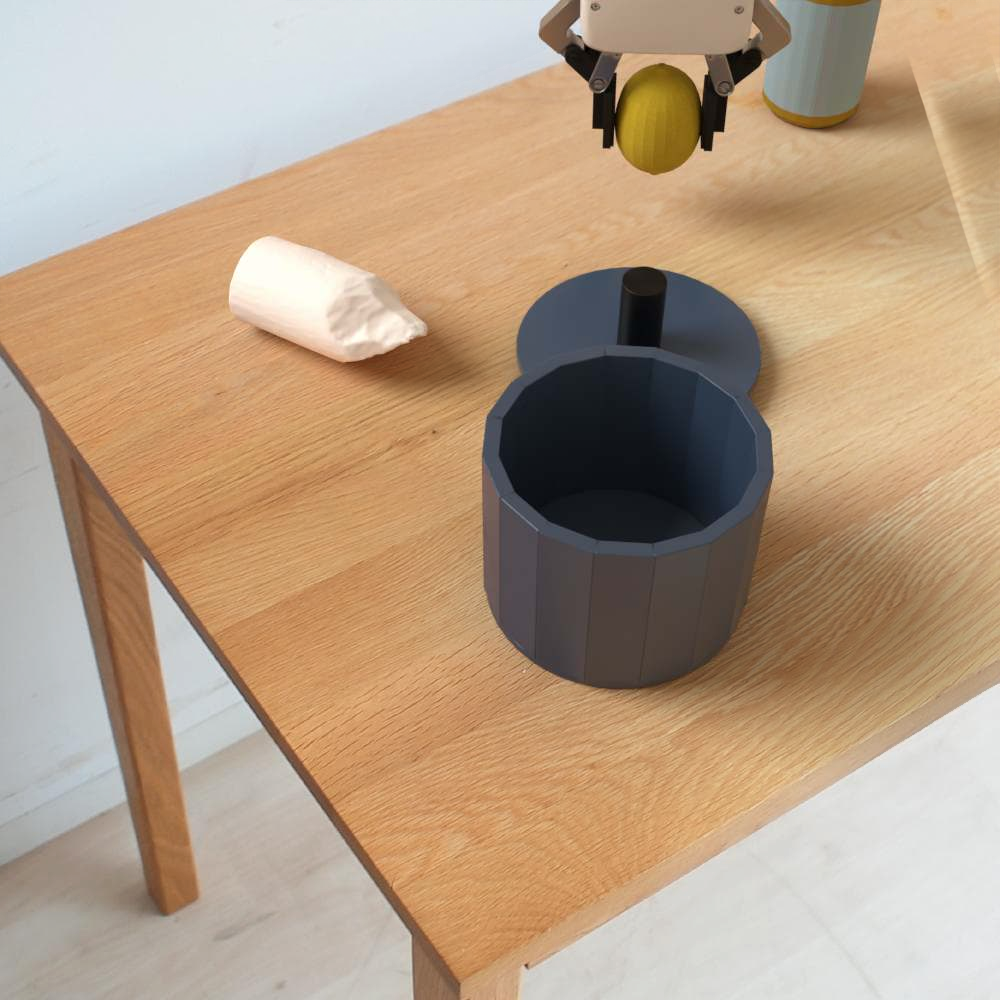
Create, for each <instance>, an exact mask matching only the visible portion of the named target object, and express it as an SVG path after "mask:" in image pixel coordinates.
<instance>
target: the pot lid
mask: <svg viewBox="0 0 1000 1000" xmlns="http://www.w3.org/2000/svg"><path fill="white" fill-rule="evenodd" d="M516 335H517V336H516V341H515V342H516V343H515V344H516V346H515V347H516V348H515V349H516V351H515V353H516V354H515V356H516V362H517V367H518V370H519V373H520V376H521V375H523V374H524V373H526V372H528V371H529V370H531V369H533V368H534V367H536V366H538V365H539V364H541V363H543V362H544V361H546V360H548V359H549V358H551V357H554V356H556V355H561V354H565V353H570V352H574V351H578V350H583V349H587V348H592V347H596V346H601V345H621V346H640V347H657V348H659V349H662V350H665V351H668V352H671V353H674V354H677V355H680V356H683V357H686V358H689V359H692V360H695V361H698V362H701V363H704V364H706V365H709V366H710V367H712V368H713V369H714V370H716V371H717V372H719V373H720V374H721V375H723V376H724V377H726V378H727V379H728V380H730V381H731V382H732V383H734V384H735V385H737V386H738V387H739V388H741V389H742V390H743V391H745V392H746V393H747V394H748V395H749V396H750V395H751V394H752V392H753V391H754V389H755V386H756V384H757V383H758V379H759V375H760V371H761V366H762V348H761V342H760V338H759V336H758V333H757V331H756V328H755V327H754V325H753V323H752V321H751V319H750V318H749V317H748V316H747V314H746V313H745V312H744V310H743V309H742V308H741V307H740V306H738V304H736V302H735V301H734V300H733V299H731V298H730V297H728V295H726V294H724V293H723V292H721V291H720V290H718V289H717V288H715V287H713V286H712V285H709V284H707V283H706V282H703V281H701V280H699V279H696V278H694V277H690V276H689V275H685V274H682V273H680V272H679V273H678V272H675V271H671V270H665V269H659V268H656V267H651V266H646V265H645V266H644V265H643V266H621V267H609V268H603V269H597V270H593V271H589V272H584V273H581V274H579V275H576V276H573V277H571V278H569V279H566V280H564V281H561V282H560V283H558V284H557V285H555V286H553V287H551V288H550V289H548V290H547V291H546V292H544V293H543V294H542V295H541V296H540V297H538V298H537V299H536V300H535V301H534V302H533V304H532V305H531V306H530V307H529V309H528V310H527V312H525V314H524V316H523V318H522V320H521V323H520V325H519V328H518V330H517V334H516Z"/></svg>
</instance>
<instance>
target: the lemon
mask: <svg viewBox="0 0 1000 1000" xmlns="http://www.w3.org/2000/svg"><path fill="white" fill-rule="evenodd" d="M701 129H702V100H701V96H700V93H699V91H698V88H697V85H696V84H695V81H694V80H693V79H692V78H691V77H690V76H689V75H688V74H687V72H685V71H683V70H682V69H680V68H679V67H676V66H674V65H671V64H667V63H665V62H659V63H655V64H650V65H647V66H644V67H642V68H640V69H639V70H638V71H636V72H634V73H633V74H632V75H631V76H630V77H629V79H627V81H626V82H625V84H624V85H623V87H622V89H621V91H620V94H619V97H618V100H617V103H616V106H615V126H614V136H615V140H616V144H617V147H618V149H619V152H620V153H621V155H622V156H623V158H624V159H625V161H627V162H628V163H629V164H630V165H631V166H632V167H634V168H635V169H637V170H639V171H641V172H644V173H647V174H650V175H652V176H659V175H660V174H666V173H670V172H673V171H674V170H676V169H678V168H680V167H681V166H682V165H683V164H685V163H686V162H687V161H688V160H689V159H690V158H691V156H692V155H693V153H694V152H695V150H696V148H697V146H698V144H699V141H700V134H701Z"/></svg>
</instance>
